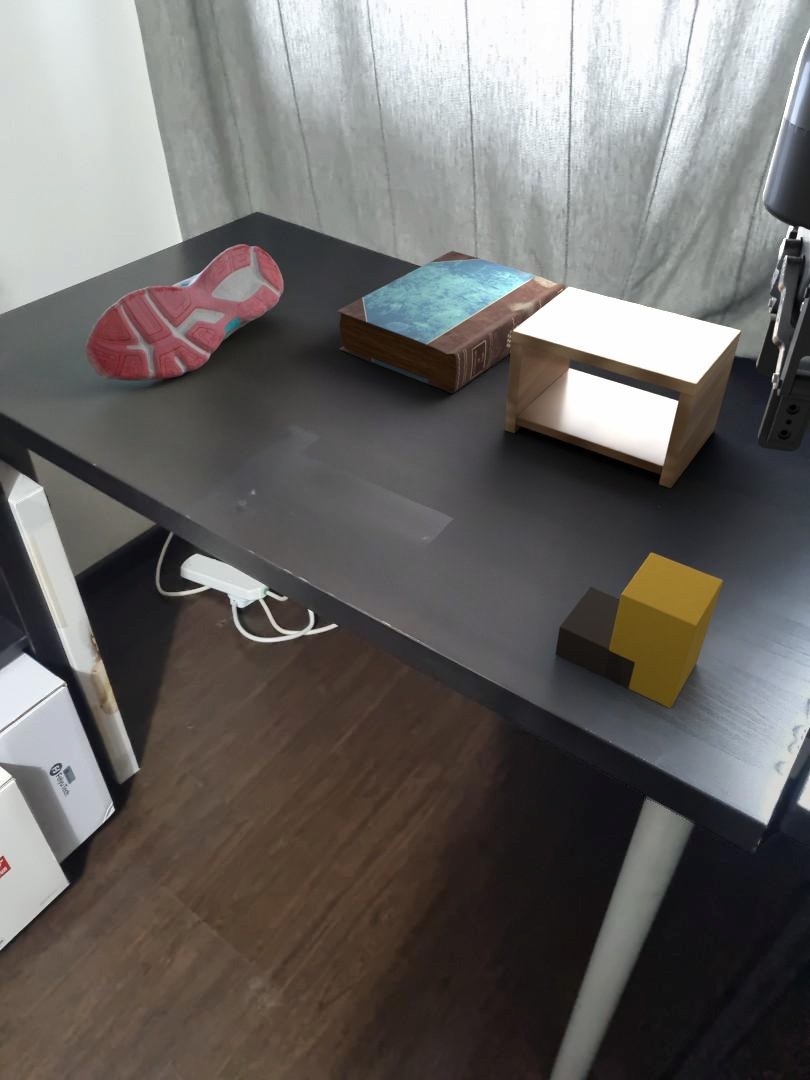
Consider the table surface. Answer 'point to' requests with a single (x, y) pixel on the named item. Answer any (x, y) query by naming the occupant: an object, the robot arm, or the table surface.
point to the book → (444, 319)
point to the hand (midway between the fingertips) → (774, 407)
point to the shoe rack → (612, 408)
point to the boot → (644, 629)
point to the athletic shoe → (183, 318)
